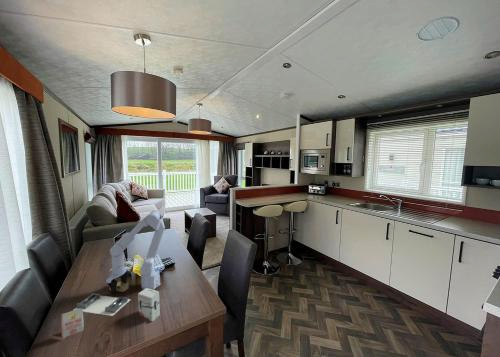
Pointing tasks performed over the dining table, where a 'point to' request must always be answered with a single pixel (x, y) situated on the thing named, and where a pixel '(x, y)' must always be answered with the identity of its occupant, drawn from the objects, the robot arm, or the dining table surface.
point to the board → (101, 306)
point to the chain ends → (94, 297)
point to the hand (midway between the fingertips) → (119, 288)
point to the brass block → (121, 286)
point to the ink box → (149, 304)
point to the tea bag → (71, 323)
